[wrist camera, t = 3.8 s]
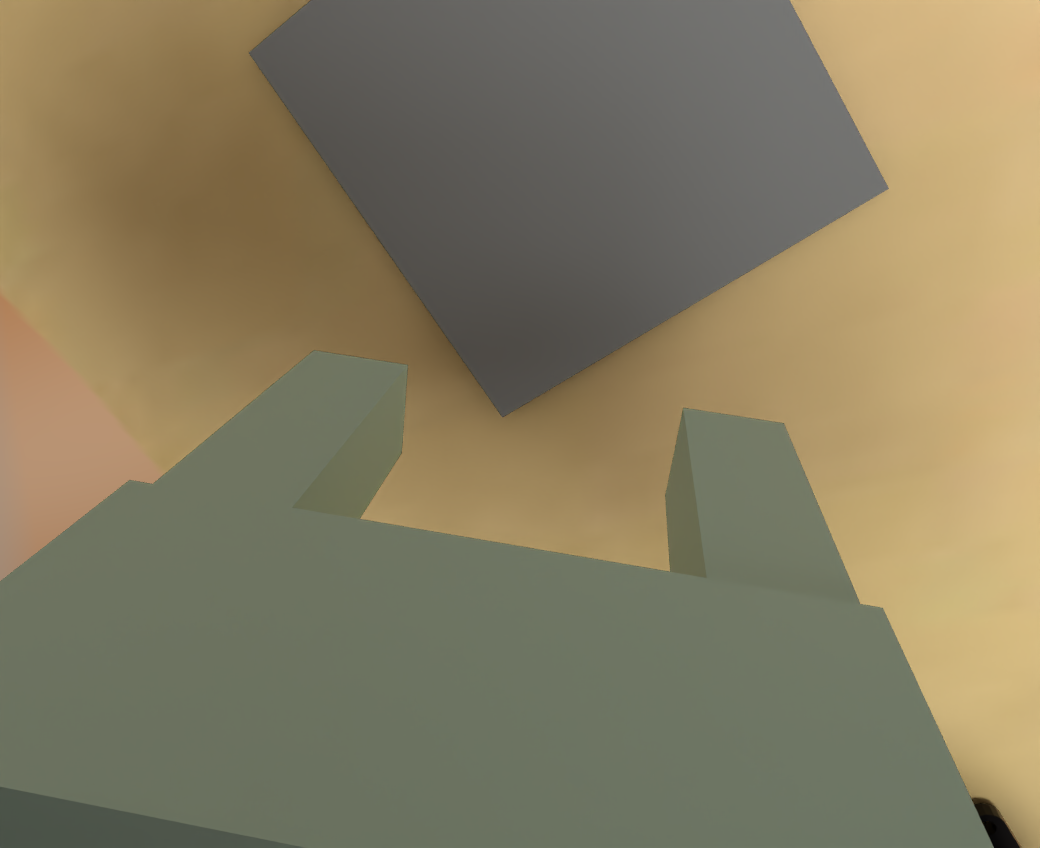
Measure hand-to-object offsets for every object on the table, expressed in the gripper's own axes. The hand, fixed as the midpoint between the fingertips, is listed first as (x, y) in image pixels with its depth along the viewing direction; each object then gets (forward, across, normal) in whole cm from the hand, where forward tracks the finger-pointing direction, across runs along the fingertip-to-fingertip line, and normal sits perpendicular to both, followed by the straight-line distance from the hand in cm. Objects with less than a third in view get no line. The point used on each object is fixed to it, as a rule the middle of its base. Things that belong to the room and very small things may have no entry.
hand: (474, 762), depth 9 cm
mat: (+13, +1, -6) cm, 14 cm away
